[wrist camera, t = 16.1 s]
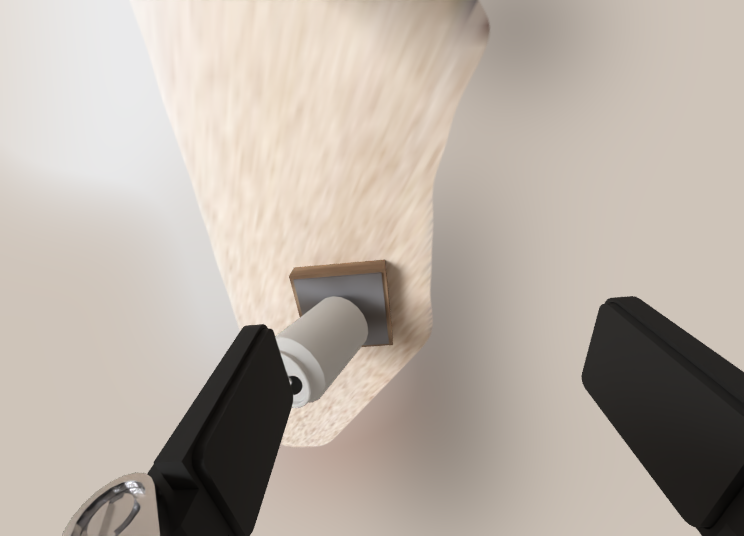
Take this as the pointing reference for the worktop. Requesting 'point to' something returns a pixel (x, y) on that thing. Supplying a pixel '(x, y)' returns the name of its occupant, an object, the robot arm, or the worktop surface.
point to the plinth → (348, 293)
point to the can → (321, 346)
